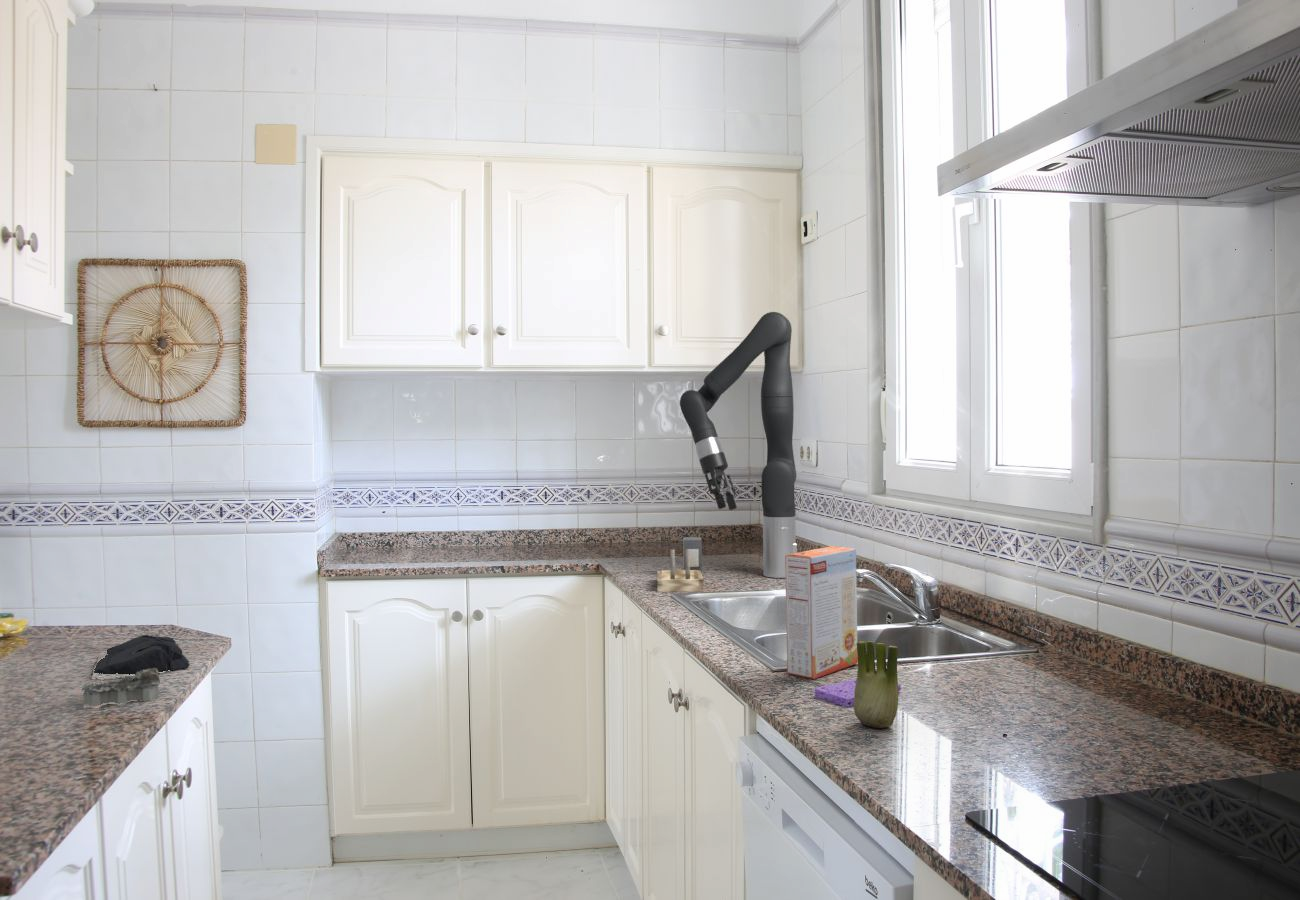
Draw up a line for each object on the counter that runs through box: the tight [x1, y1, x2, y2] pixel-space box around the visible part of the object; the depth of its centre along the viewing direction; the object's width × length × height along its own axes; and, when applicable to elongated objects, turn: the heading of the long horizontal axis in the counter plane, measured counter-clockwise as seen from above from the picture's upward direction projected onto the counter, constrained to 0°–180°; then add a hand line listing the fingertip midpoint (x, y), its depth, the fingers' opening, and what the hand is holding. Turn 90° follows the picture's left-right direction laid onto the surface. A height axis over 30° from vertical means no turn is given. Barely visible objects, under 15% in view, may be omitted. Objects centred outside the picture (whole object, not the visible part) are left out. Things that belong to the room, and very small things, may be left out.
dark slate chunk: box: [94, 634, 190, 675], centre depth 165 cm, size 15×22×5 cm
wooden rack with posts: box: [656, 549, 705, 593], centre depth 241 cm, size 12×16×10 cm
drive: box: [682, 536, 703, 574], centre depth 256 cm, size 5×7×11 cm
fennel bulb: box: [853, 640, 900, 729], centre depth 127 cm, size 6×5×12 cm
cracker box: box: [785, 545, 858, 680], centre depth 156 cm, size 14×6×21 cm, turn 135°
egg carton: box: [81, 668, 162, 706], centre depth 142 cm, size 11×8×4 cm
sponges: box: [814, 678, 902, 708], centre depth 142 cm, size 7×13×2 cm, turn 126°
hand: (728, 508), depth 255 cm, fingers open, 8 cm apart
